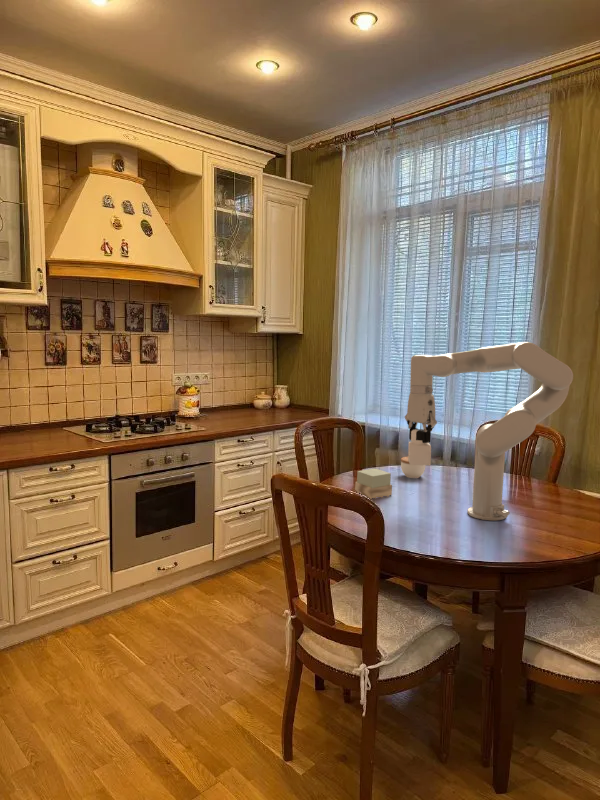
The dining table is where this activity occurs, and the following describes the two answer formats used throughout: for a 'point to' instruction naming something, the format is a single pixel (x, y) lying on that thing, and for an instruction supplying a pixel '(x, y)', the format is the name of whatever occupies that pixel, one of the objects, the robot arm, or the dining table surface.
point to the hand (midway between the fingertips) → (419, 440)
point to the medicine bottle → (418, 449)
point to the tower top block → (373, 478)
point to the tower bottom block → (373, 490)
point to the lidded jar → (411, 468)
